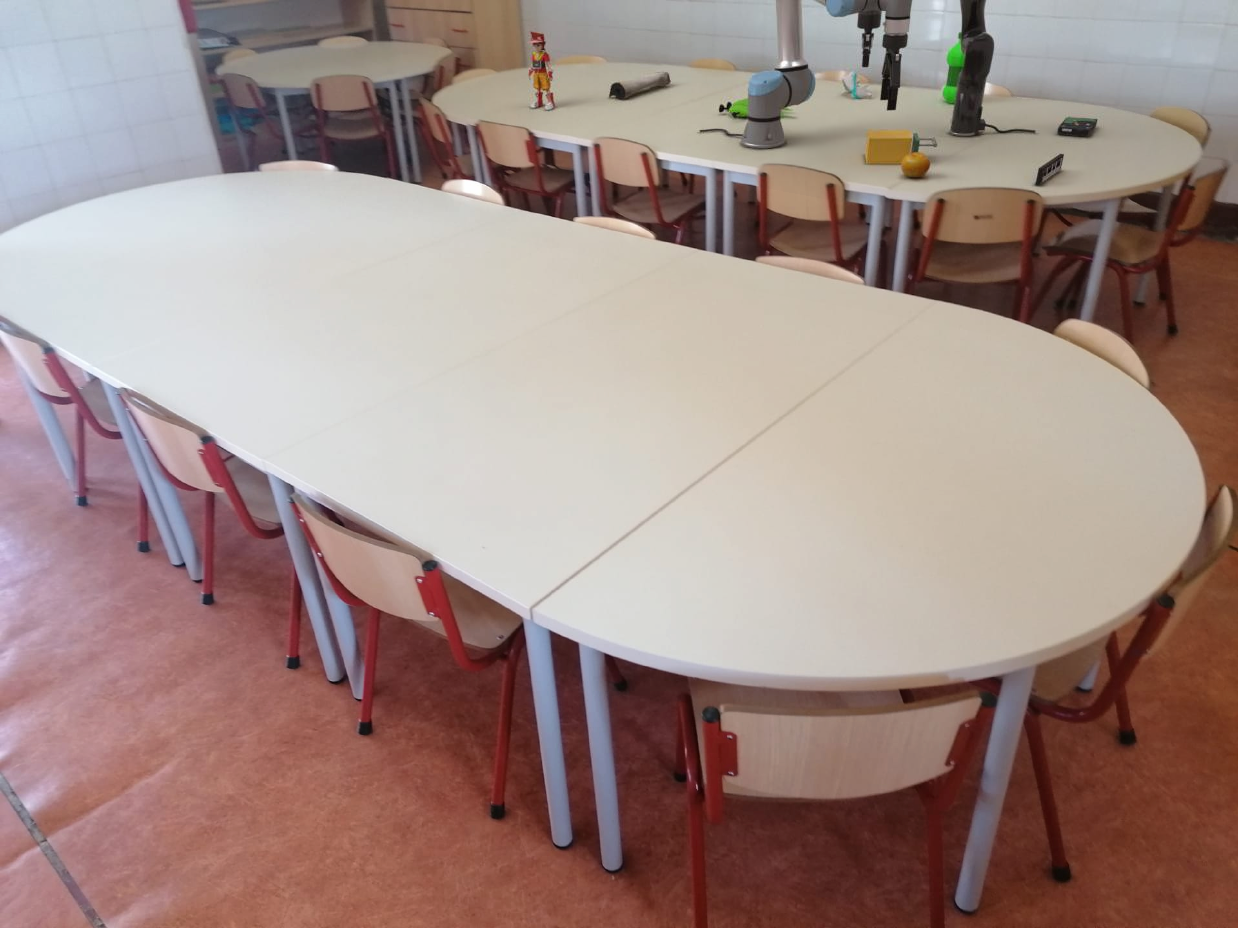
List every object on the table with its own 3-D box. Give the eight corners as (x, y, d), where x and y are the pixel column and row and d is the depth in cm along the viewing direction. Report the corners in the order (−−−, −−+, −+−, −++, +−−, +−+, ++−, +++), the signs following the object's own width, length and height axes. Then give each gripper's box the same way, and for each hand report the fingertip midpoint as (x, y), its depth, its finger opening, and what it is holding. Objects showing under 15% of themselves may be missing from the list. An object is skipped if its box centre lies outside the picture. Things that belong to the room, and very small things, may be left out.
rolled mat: (651, 76, 408) (662, 61, 399) (662, 93, 408) (674, 79, 400) (605, 92, 391) (616, 77, 383) (617, 110, 391) (628, 95, 383)
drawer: (932, 152, 299) (935, 133, 295) (935, 160, 292) (938, 140, 288) (876, 153, 302) (878, 133, 298) (878, 160, 295) (880, 140, 291)
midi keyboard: (1039, 185, 269) (1043, 168, 266) (1035, 184, 270) (1038, 168, 267) (1060, 170, 279) (1064, 154, 277) (1056, 169, 280) (1060, 153, 277)
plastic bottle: (973, 101, 354) (984, 32, 339) (955, 106, 349) (966, 36, 335) (952, 97, 361) (962, 29, 346) (934, 102, 356) (944, 33, 342)
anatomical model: (837, 70, 373) (861, 64, 372) (839, 96, 379) (863, 89, 378) (847, 78, 361) (872, 71, 360) (850, 104, 367) (874, 98, 366)
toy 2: (709, 116, 351) (780, 128, 338) (711, 102, 348) (782, 114, 336) (739, 105, 371) (807, 117, 359) (741, 92, 368) (809, 103, 356)
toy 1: (525, 109, 381) (517, 32, 364) (534, 104, 388) (527, 28, 371) (550, 110, 377) (543, 32, 360) (559, 105, 384) (553, 28, 367)
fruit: (895, 167, 279) (911, 144, 276) (896, 170, 287) (913, 147, 284) (917, 183, 278) (934, 160, 275) (918, 184, 285) (935, 162, 282)
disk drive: (1089, 138, 306) (1096, 126, 316) (1091, 129, 305) (1098, 118, 315) (1056, 135, 311) (1064, 124, 321) (1058, 126, 309) (1066, 115, 320)
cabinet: (906, 155, 301) (909, 130, 297) (908, 164, 293) (912, 138, 289) (865, 155, 304) (867, 130, 299) (866, 164, 296) (869, 138, 291)
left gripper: (877, 27, 289) (870, 96, 301) (890, 41, 269) (881, 115, 281) (901, 26, 288) (893, 95, 300) (915, 40, 268) (906, 114, 280)
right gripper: (881, 15, 289) (876, 69, 298) (881, 8, 300) (876, 60, 310) (857, 16, 291) (853, 69, 300) (858, 8, 302) (854, 60, 311)
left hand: (887, 105), depth 291 cm, fingers open, 13 cm apart
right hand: (865, 64), depth 305 cm, fingers open, 8 cm apart
